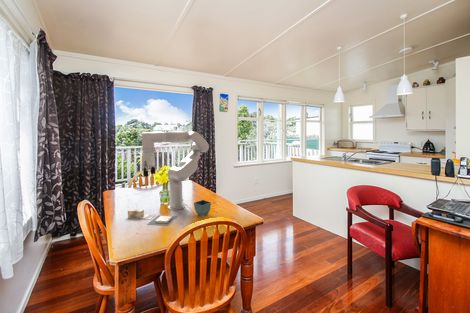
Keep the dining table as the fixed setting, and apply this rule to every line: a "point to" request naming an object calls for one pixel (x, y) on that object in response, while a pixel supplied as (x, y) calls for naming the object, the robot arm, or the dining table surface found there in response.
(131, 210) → the turner
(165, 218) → the tile
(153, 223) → the mat
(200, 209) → the flower pot
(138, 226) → the dining table surface
